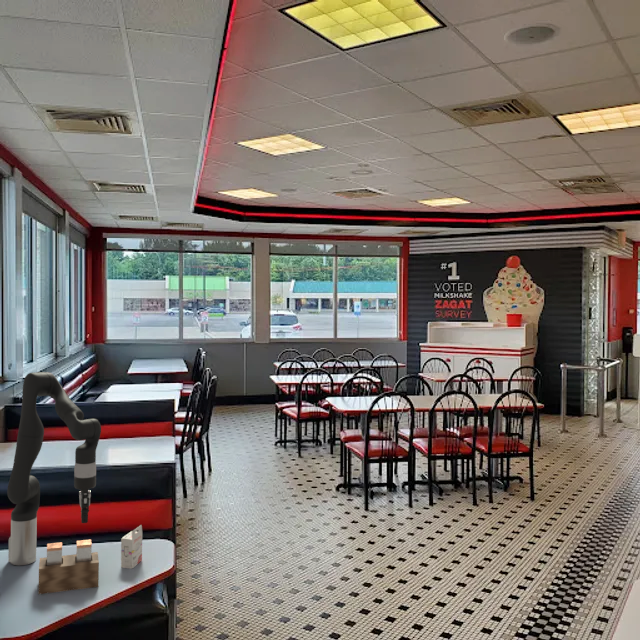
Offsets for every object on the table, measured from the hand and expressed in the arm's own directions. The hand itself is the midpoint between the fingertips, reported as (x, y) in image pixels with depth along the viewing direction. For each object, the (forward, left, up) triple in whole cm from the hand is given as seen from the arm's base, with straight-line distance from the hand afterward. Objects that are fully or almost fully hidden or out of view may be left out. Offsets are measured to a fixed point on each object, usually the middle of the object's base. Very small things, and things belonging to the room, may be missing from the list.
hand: (84, 520), depth 242 cm
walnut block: (-4, -3, -23) cm, 24 cm away
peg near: (-8, -6, -17) cm, 20 cm away
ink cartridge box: (+6, +21, -23) cm, 32 cm away
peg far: (0, 0, -17) cm, 17 cm away
